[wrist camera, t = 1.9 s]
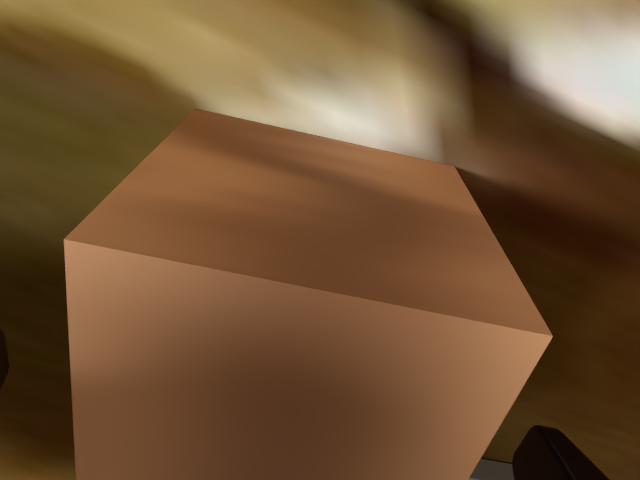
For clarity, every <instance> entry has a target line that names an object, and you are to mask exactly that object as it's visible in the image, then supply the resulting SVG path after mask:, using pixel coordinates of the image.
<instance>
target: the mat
mask: <svg viewBox="0 0 640 480" xmlns="http://www.w3.org/2000/svg"><path fill="white" fill-rule="evenodd" d="M468 480H514V476H513V469H512V464H508V463H503V462H497V461H491V460H485V459H480V460H479V462H478V464H477V465H476V467H475V469H474V470H473V472H472V474H471V476H470V477H469V479H468Z"/></svg>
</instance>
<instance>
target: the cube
mask: <svg viewBox="0 0 640 480" xmlns="http://www.w3.org/2000/svg"><path fill="white" fill-rule="evenodd" d="M64 254H65V274H66V293H67V313H68V332H69V352H70V371H71V391H72V410H73V430H74V450H75V469H76V480H468V479H469V477H470V476H471V474H472V472H473V470H474V469H475V467H476V465H477V464H478V462H479V460H480V459H481V457H482V455H483V454H484V452H485V450H486V449H487V447H488V445H489V443H490V442H491V440H492V438H493V437H494V435H495V433H496V432H497V430H498V428H499V427H500V425H501V423H502V422H503V420H504V418H505V416H506V415H507V413H508V411H509V410H510V408H511V406H512V405H513V403H514V401H515V400H516V398H517V396H518V395H519V393H520V391H521V389H522V388H523V386H524V384H525V383H526V381H527V379H528V378H529V376H530V374H531V373H532V371H533V369H534V368H535V366H536V364H537V362H538V361H539V359H540V357H541V356H542V354H543V352H544V351H545V349H546V347H547V346H548V344H549V342H550V341H551V339H552V337H553V335H552V334H551V332H550V330H549V328H548V327H547V325H546V323H545V322H544V320H543V318H542V316H541V315H540V313H539V311H538V310H537V308H536V306H535V304H534V303H533V301H532V299H531V297H530V296H529V294H528V292H527V291H526V289H525V287H524V285H523V284H522V282H521V280H520V279H519V277H518V275H517V273H516V272H515V270H514V268H513V266H512V265H511V263H510V261H509V260H508V258H507V256H506V254H505V253H504V251H503V249H502V248H501V246H500V244H499V242H498V241H497V239H496V237H495V236H494V234H493V232H492V230H491V229H490V227H489V225H488V223H487V222H486V220H485V218H484V217H483V215H482V213H481V211H480V210H479V208H478V206H477V205H476V203H475V201H474V199H473V198H472V196H471V194H470V192H469V191H468V189H467V187H466V186H465V184H464V182H463V180H462V179H461V177H460V175H459V174H458V172H457V170H456V168H455V167H454V166H451V165H446V164H442V163H437V162H433V161H428V160H424V159H419V158H415V157H410V156H406V155H401V154H397V153H392V152H388V151H383V150H379V149H374V148H370V147H365V146H361V145H356V144H352V143H347V142H343V141H338V140H334V139H329V138H325V137H320V136H316V135H311V134H307V133H302V132H298V131H293V130H289V129H284V128H280V127H275V126H271V125H266V124H262V123H257V122H253V121H248V120H244V119H240V118H235V117H231V116H226V115H222V114H217V113H213V112H208V111H204V110H199V109H195V110H194V111H193V112H192V113H191V114H190V115H189V116H188V117H187V118H186V119H185V120H184V121H183V122H182V123H181V124H180V125H179V126H178V127H177V128H176V129H175V130H174V131H173V132H172V133H171V134H169V135H168V136H167V137H166V138H165V139H164V140H163V141H162V142H161V143H160V144H159V145H158V146H157V147H156V148H155V149H154V150H153V151H152V152H151V153H150V154H149V155H148V156H147V157H146V158H145V159H144V160H143V161H142V162H141V163H140V164H139V165H138V166H137V167H136V168H135V169H134V170H133V171H132V172H131V173H130V174H129V175H128V176H127V177H126V178H125V179H124V180H123V181H122V182H121V183H120V184H119V185H118V186H117V187H116V188H115V189H114V190H113V191H112V192H111V193H110V194H109V195H108V196H107V197H106V198H105V199H104V200H103V201H102V202H101V203H100V204H99V205H98V206H97V207H96V208H95V209H94V210H93V211H92V212H91V213H90V214H89V215H88V216H87V217H86V218H85V219H84V220H83V221H82V222H81V223H80V224H79V225H78V226H77V227H76V228H75V229H74V230H73V231H72V232H71V233H70V234H69V235H68V236H67V237H66V238H65V239H64Z"/></svg>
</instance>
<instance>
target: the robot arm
mask: <svg viewBox="0 0 640 480" xmlns="http://www.w3.org/2000/svg"><path fill="white" fill-rule="evenodd" d="M8 367H9V363H8V355H7V348H6V340H5V335H4V332H3V331H2V330H1V329H0V388H1V386H2V384H3V382H4V381H5V379H6V376H7V373H8ZM512 469H513V476H514V480H609V479H608V478H607V477H606V476H605V475H604V474H603V473H602V472H601V471H600V470H599V469H598V468H597V467H596V466H595V465H594V464H593V463H592V462H591V461H590V460H589V459H588V458H587V457H586V456H585V455H584V454H583V453H582V452H581V451H580V450H579V449H578V448H577V447H576V446H575V445H574V444H573V443H572V442H571V441H570V440H569V439H568V438H567V437H566V436H565V435H564V434H563V433H562V432H561V431H559V430H558V429H555V428H551V427H546V426H540V425H535V426H533V427H531V428H530V430H529V431H528V433H527V434H526V436H525V437H524V439H523V440H522V442H521V444H520V445H519V447H518V448H517V450H516V451H515V453H514V456H513V461H512Z"/></svg>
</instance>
